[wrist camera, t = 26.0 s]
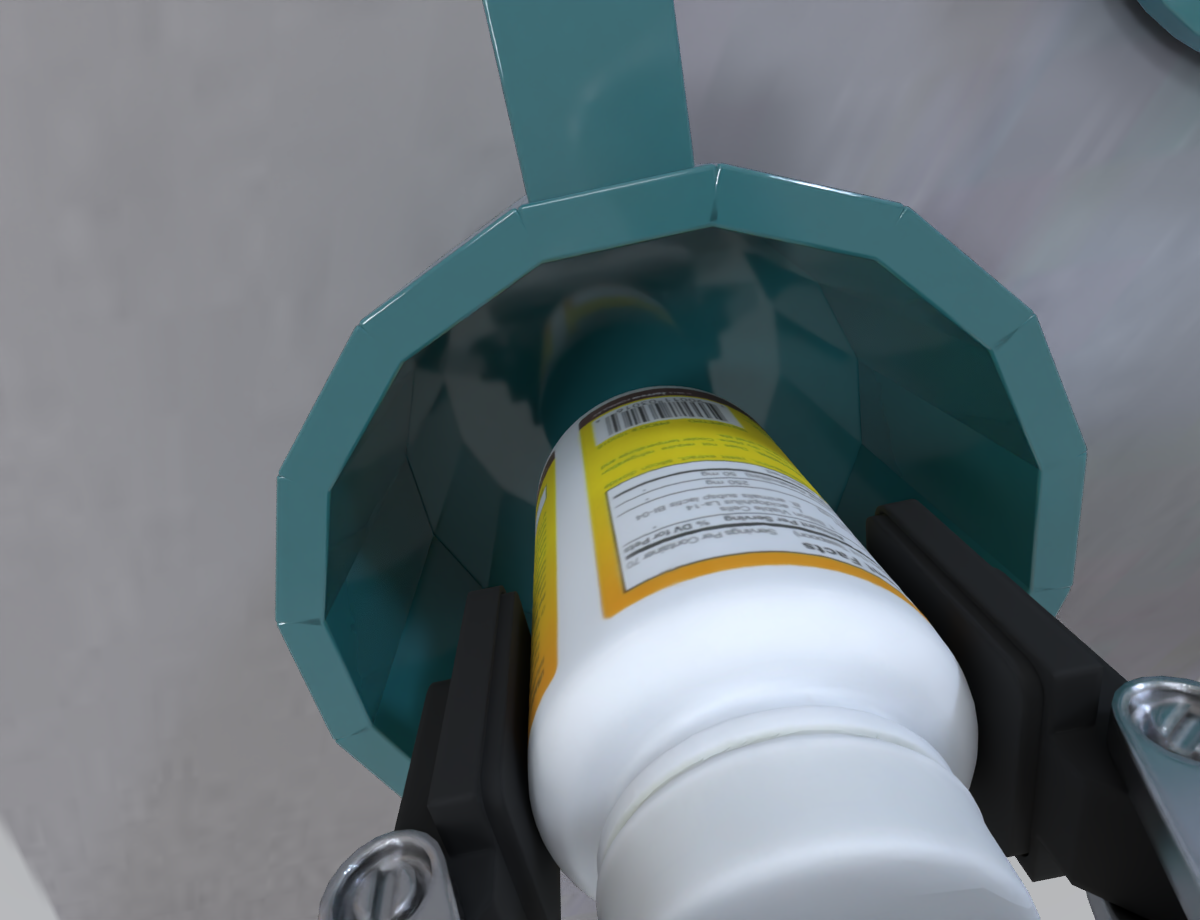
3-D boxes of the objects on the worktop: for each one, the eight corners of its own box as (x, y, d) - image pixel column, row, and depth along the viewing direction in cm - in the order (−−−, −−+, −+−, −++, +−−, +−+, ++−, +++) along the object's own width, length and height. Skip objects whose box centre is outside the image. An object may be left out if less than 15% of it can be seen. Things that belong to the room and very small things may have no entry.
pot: (868, -22, 14) (1162, -201, 7) (887, 659, 22) (1041, 880, 15) (256, 114, 15) (-5, 60, 8) (486, 742, 22) (458, 998, 15)
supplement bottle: (648, 632, 17) (770, 1211, 7) (485, 494, 15) (376, 1032, 6) (825, 491, 16) (1240, 977, 6) (670, 321, 14) (931, 645, 4)
